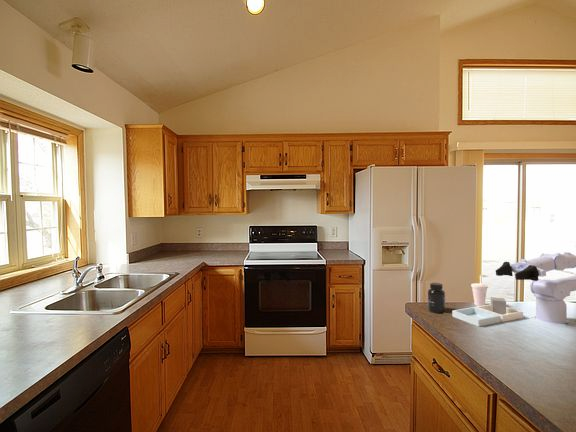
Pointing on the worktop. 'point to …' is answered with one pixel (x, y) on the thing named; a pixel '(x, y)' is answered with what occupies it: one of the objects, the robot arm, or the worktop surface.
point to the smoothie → (479, 293)
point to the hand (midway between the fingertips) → (506, 274)
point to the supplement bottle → (436, 298)
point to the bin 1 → (476, 316)
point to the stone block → (498, 305)
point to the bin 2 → (510, 314)
